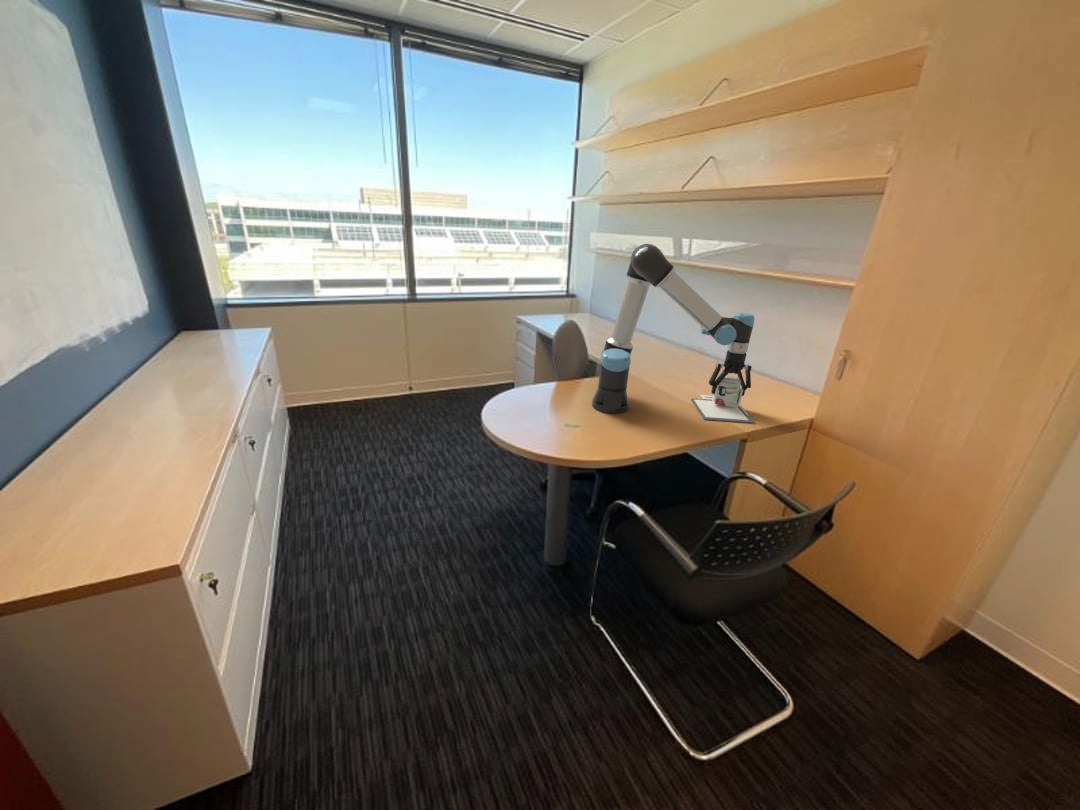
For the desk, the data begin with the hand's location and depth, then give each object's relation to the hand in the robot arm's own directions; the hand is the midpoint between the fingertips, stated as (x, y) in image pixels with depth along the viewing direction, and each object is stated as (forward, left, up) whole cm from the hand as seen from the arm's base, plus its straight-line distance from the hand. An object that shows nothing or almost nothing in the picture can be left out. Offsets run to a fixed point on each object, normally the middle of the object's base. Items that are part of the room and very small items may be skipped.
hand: (725, 401), depth 190 cm
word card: (-3, +10, -3) cm, 11 cm away
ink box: (0, 0, -1) cm, 1 cm away
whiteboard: (-3, -5, -3) cm, 6 cm away
